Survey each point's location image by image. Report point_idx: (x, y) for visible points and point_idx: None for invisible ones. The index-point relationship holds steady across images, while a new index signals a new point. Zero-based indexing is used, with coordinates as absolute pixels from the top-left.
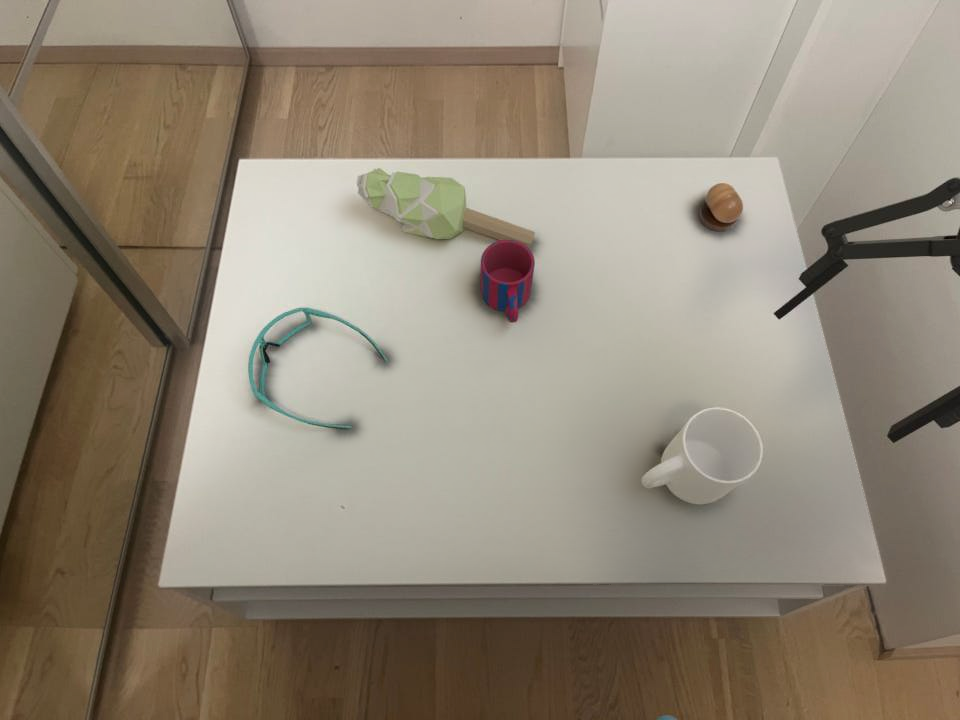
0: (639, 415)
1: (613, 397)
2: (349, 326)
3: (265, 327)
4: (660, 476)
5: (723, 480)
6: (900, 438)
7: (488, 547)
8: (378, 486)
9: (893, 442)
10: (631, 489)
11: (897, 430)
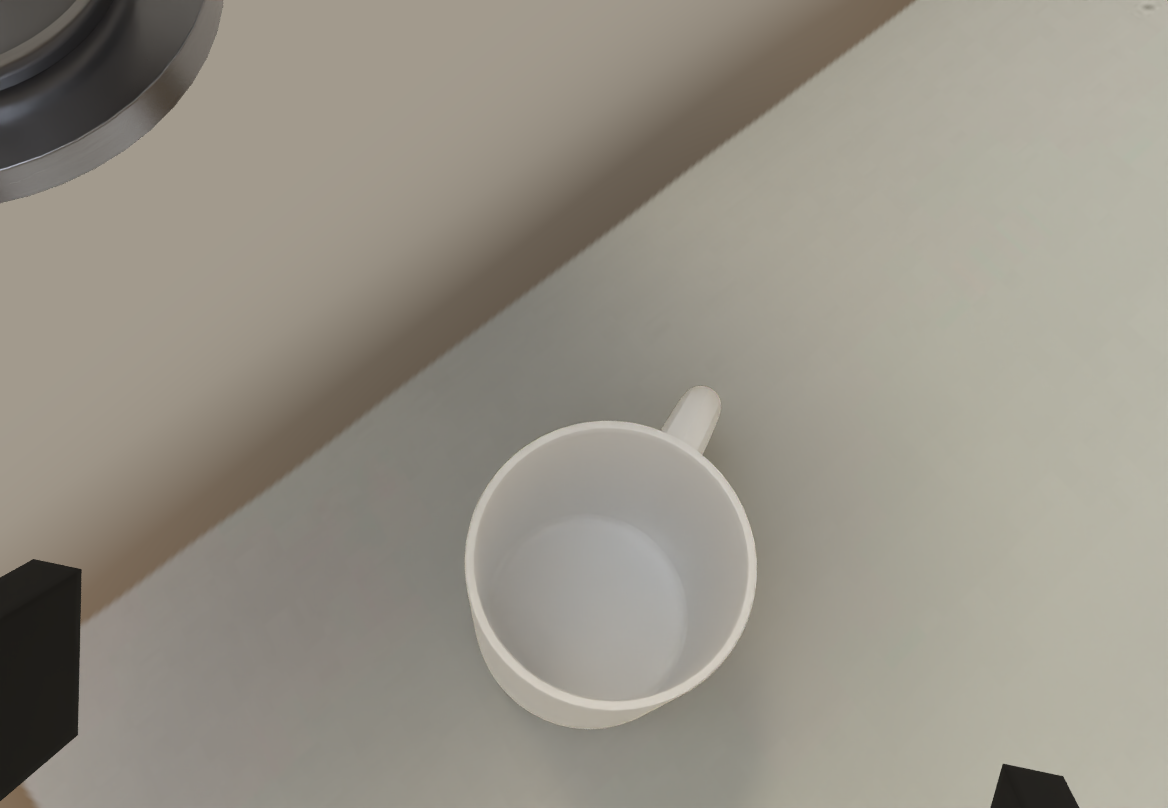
0: (822, 659)
1: (920, 654)
2: None
3: None
4: (689, 391)
5: (537, 449)
6: (3, 578)
7: (855, 123)
8: (1138, 79)
9: (34, 560)
10: None
11: (34, 595)
